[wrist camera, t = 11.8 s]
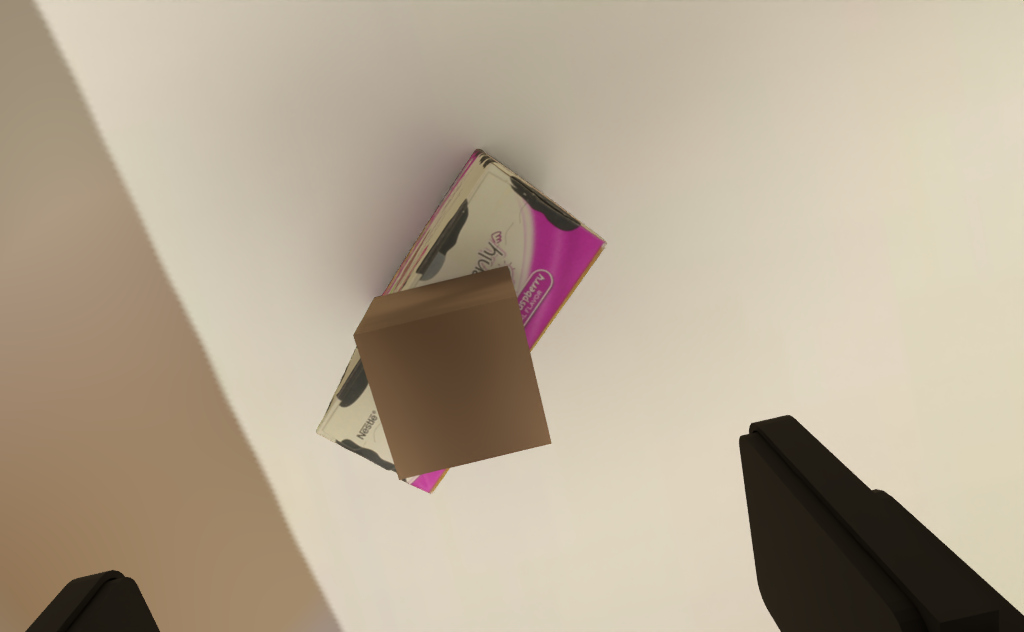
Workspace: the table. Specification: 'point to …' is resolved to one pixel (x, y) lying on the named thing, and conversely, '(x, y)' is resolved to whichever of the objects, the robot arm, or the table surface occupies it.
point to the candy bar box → (467, 250)
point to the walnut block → (452, 373)
